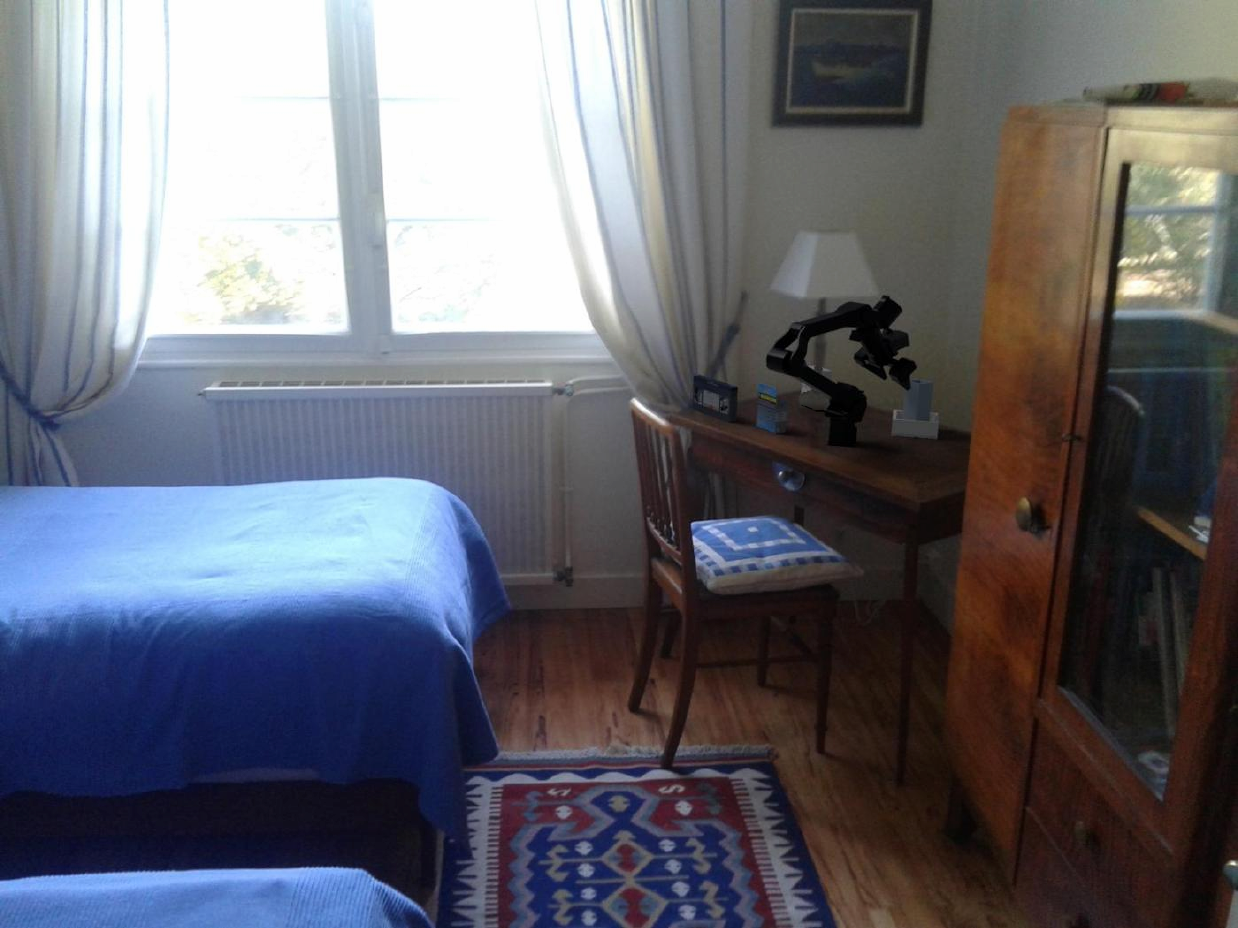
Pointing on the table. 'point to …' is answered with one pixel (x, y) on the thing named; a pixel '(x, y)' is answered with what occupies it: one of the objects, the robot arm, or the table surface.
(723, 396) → the vhs cassette tape
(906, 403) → the grey hollow square tube
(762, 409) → the label tape box
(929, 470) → the table surface
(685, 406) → the table surface
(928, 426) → the cream crate
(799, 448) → the table surface
